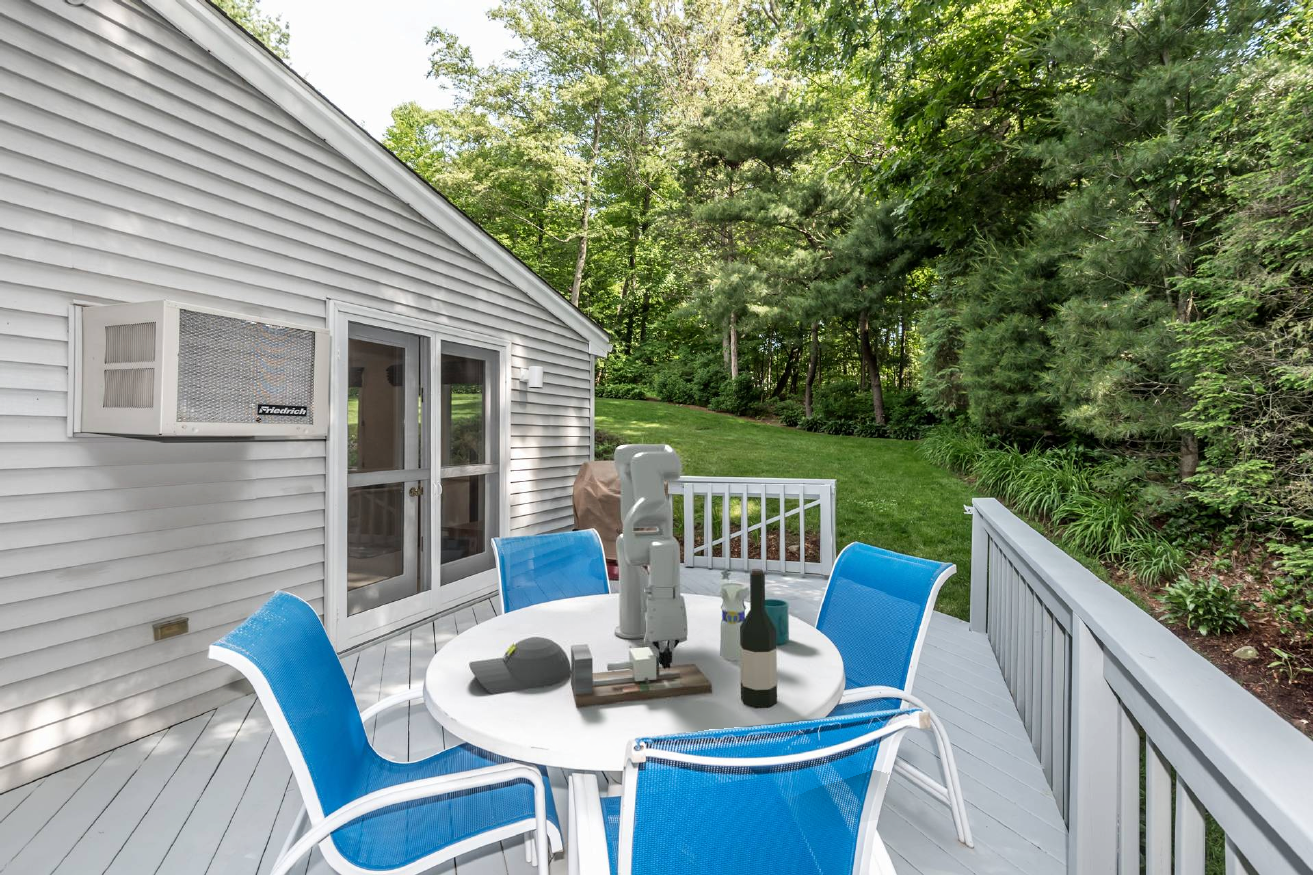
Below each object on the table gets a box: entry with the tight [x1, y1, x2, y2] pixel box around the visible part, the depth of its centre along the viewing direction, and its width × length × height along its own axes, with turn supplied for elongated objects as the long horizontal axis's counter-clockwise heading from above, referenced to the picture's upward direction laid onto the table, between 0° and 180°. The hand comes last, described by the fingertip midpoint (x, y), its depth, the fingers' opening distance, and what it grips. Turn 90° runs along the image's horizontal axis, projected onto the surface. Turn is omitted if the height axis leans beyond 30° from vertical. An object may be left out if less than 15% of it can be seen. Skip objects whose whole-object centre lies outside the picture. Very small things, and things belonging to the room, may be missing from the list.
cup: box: [765, 598, 790, 646], centre depth 179 cm, size 9×12×11 cm
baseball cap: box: [468, 636, 571, 695], centre depth 155 cm, size 19×26×12 cm
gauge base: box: [570, 643, 713, 708], centre depth 147 cm, size 14×32×10 cm, turn 103°
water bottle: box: [718, 567, 750, 661], centre depth 168 cm, size 8×9×25 cm
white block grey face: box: [606, 646, 660, 684], centre depth 145 cm, size 10×12×5 cm
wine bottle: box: [739, 568, 778, 709], centre depth 139 cm, size 8×8×30 cm
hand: (665, 666), depth 148 cm, fingers closed
